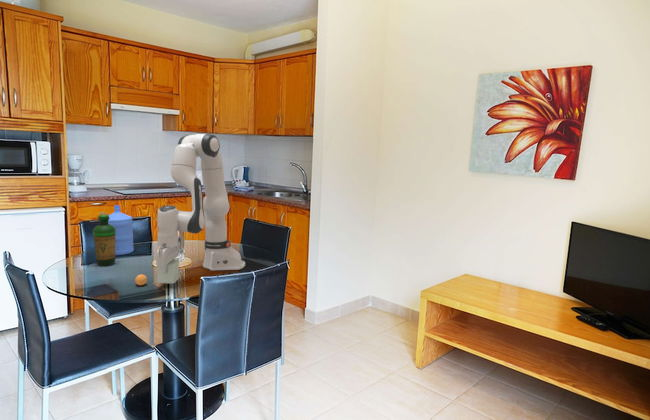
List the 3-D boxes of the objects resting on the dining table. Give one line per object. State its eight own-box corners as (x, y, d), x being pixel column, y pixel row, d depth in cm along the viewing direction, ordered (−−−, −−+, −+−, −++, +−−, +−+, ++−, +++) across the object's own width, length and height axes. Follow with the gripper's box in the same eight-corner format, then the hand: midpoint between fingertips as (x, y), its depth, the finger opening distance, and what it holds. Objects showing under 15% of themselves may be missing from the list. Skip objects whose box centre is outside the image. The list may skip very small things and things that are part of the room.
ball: (148, 283, 193) (148, 273, 192) (144, 287, 188) (144, 276, 187) (138, 283, 192) (137, 272, 192) (133, 286, 188) (133, 276, 187)
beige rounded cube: (178, 278, 194) (178, 260, 192) (173, 283, 186) (173, 264, 185) (163, 277, 194) (162, 259, 192) (157, 282, 186) (156, 264, 185)
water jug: (138, 252, 244) (136, 206, 239) (110, 257, 232) (108, 208, 228) (127, 247, 254) (125, 202, 250) (99, 252, 242) (97, 205, 238)
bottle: (101, 268, 212) (98, 215, 208) (90, 264, 218) (87, 212, 213) (121, 263, 221) (119, 212, 217) (110, 260, 227) (107, 210, 222)
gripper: (166, 247, 177) (166, 278, 179) (181, 237, 197) (182, 264, 199) (151, 246, 177) (152, 277, 179) (168, 236, 197) (168, 264, 199)
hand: (168, 270), depth 189 cm, fingers closed on beige rounded cube, 7 cm apart
